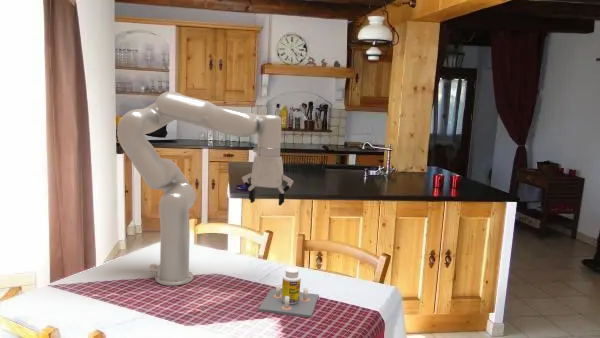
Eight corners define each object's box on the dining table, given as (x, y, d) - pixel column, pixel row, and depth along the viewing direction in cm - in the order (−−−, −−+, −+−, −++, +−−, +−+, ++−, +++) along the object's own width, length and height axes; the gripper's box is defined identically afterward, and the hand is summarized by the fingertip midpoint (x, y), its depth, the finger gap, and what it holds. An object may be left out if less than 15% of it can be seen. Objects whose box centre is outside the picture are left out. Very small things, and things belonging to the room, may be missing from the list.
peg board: (258, 311, 149) (259, 297, 149) (270, 291, 165) (271, 278, 164) (311, 317, 146) (311, 304, 146) (318, 296, 162) (319, 284, 161)
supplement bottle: (287, 306, 152) (289, 274, 150) (278, 299, 156) (279, 268, 155) (302, 302, 155) (304, 271, 153) (292, 296, 159) (294, 265, 158)
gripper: (240, 151, 161) (238, 203, 164) (292, 155, 158) (289, 208, 161) (246, 149, 169) (244, 198, 171) (296, 153, 166) (294, 203, 168)
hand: (266, 203), depth 166 cm, fingers open, 9 cm apart
